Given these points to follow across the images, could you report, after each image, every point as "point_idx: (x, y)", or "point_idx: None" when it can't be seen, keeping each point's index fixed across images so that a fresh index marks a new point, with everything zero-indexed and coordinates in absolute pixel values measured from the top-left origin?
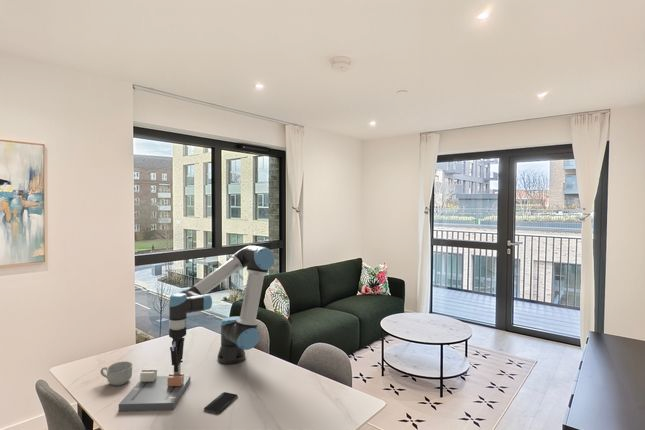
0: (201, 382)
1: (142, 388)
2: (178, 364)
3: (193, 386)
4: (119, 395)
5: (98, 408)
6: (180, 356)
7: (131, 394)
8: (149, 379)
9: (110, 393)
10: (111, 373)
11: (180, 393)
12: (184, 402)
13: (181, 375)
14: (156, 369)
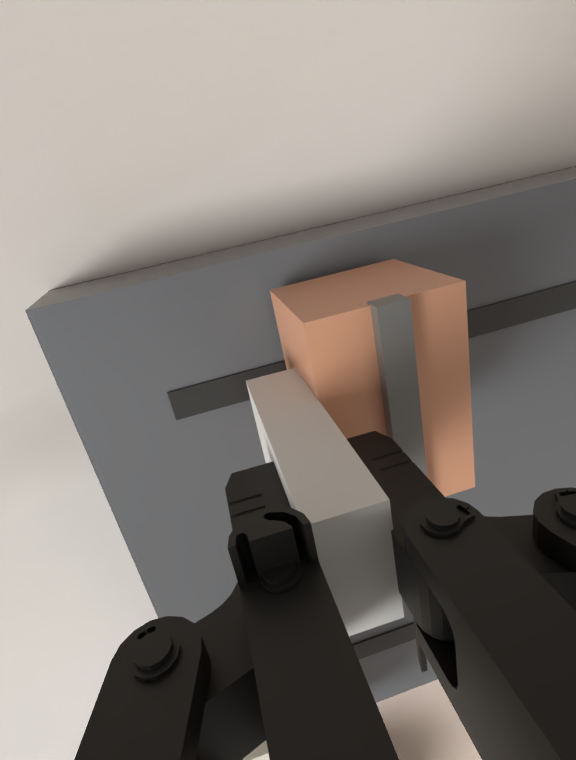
0: (4, 102)
1: None
2: (465, 506)
3: (157, 174)
4: (421, 693)
5: None
6: (382, 735)
7: None
8: None
9: (400, 751)
10: None
11: (479, 196)
12: (531, 92)
13: (404, 311)
14: (255, 757)
